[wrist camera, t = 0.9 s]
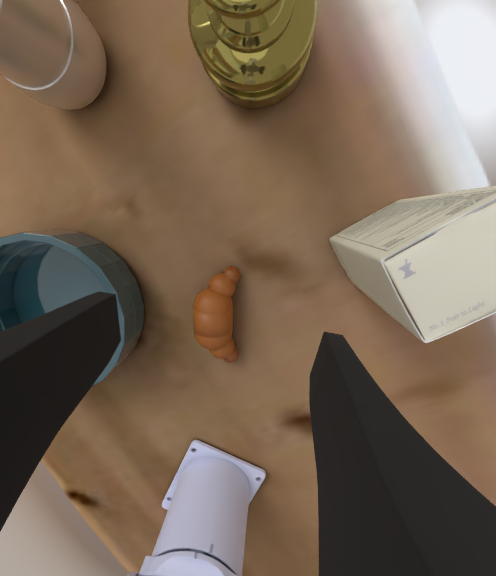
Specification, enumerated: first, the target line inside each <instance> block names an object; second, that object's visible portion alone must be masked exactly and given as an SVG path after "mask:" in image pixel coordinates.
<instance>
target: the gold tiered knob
mask: <svg viewBox="0 0 496 576" xmlns="http://www.w3.org/2000/svg"><path fill="white" fill-rule="evenodd" d="M317 14H318V1H317V0H189V1H188V24H189V31H190V36H191V40H192V43H193V46H194V48H195V50H196V53H197V55H198V57H199V58H200V60H201V62H202V64H203V66H204V68H205V70H206V72H207V74H208V75H209V77H210V78H211V80H212V82H213V83H214V85H215V86H216V88H217V89H218V90H219V92H220V93H221V94H222V95H223V96H225V97H226V98H227V99H228V100H230V101H231V102H233V103H235V104H237V105H240V106H243V107H248V108H262V107H267V106H270V105H273V104H275V103H277V102H279V101H280V100H282V99H283V98H285V97H286V96H287V95H288V94H289V93H290V92H291V91H292V90H293V89H294V88H295V86H296V85H297V84H298V82H299V80H300V79H301V77H302V75H303V73H304V70H305V68H306V64H307V61H308V57H309V54H310V51H311V47H312V42H313V36H314V32H315V28H316V23H317Z"/></svg>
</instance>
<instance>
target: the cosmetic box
mask: <svg viewBox="0 0 496 576" xmlns="http://www.w3.org/2000/svg"><path fill="white" fill-rule="evenodd" d="M329 241H330V243H331V245H332V247H333V249H334V251H335V253H336V255H337V257H338V259H339V261H340V263H341V265H342V267H343V269H344V271H345V272H346V274H347V276H348V277H349V279H350V281H351V283H352V284H354V285H355V286H356V287H357V288H358V289H359V290H361V291H362V292H363V293H364V294H365V295H367V296H368V297H369V298H370V299H371V300H372V301H374V302H375V303H376V304H377V305H378V306H380V307H381V308H382V309H383V310H384V311H385V312H387V313H388V314H389V315H390V316H392V317H393V318H394V319H395V320H396V321H398V322H399V323H400V324H401V325H402V326H404V327H405V328H406V329H407V330H409V331H410V332H411V333H412V334H413V335H415V336H416V337H417V338H418V339H420V340H421V341H422V342H424V343H429V342H431V341H434V340H436V339H439V338H441V337H443V336H446V335H448V334H451V333H453V332H455V331H457V330H459V329H462V328H464V327H466V326H469V325H471V324H473V323H475V322H477V321H480V320H482V319H484V318H486V317H488V316H491V315H492V314H494V313H496V186H490V187H484V188H477V189H470V190H463V191H456V192H449V193H442V194H435V195H428V196H422V197H415V198H408V199H401V200H398V201H396V202H394V203H392V204H390V205H388V206H386V207H384V208H382V209H380V210H379V211H377V212H375V213H373V214H371V215H369V216H367V217H366V218H364V219H362V220H360V221H359V222H357V223H355V224H353V225H351V226H350V227H348V228H346V229H344V230H343V231H341V232H339V233H337V234H336V235H334V236H332V237H331V238H329Z"/></svg>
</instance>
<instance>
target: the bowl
mask: <svg viewBox="0 0 496 576" xmlns="http://www.w3.org/2000/svg"><path fill="white" fill-rule="evenodd" d="M99 291H100V292H105V293H111V294H116V300H117V309H118V317H119V326H120V334H121V341H120V343H119V345H118V347H117V349H116V351H115V353H114V355H113V356H112V358H111V360H110V361H109V363H108V365H107V366H106V368H105V369H104V370H103V372H102V373H101V375H100V376H99V377H98V379H97V380H96V381H95V383H94V384H93V385H92V386H94V385H96V384H98V383H99V382H101V381H103V380H104V379H105V378H106V377H107V376H108V375H109V374H110V373H111V372H112V371H113V370H114V369H115V368H116V367H117V366H118V365H119V364H120V363H121V362H122V361H123V360H124V359H125V358H126V357H127V356H128V355H129V353H130V352H131V351H132V350H133V349H134V348H135V347H136V345H137V342H138V340H139V337H140V334H141V332H142V329H143V323H144V303H143V300H142V296H141V293H140V290H139V286H138V283H137V280H136V279H135V277H134V276H133V274H132V273H131V271H130V270H129V268H128V267H127V265H126V263H125V262H124V260H122V259H121V258H120V257H119V256H118V255H117V254H115V253H114V252H113V251H112V250H111V249H110V248H109V247H107V246H106V245H105V244H103V242H100V241H98V240H96V239H94V238H92V237H90V236H87V235H85V234H83V233H80V232H74V231H66V230H58V229H57V230H45V231H33V232H23V233H18V234H14V235H9V236H5V237H1V238H0V332H1V331H3V330H6V329H8V328H11V327H13V326H16V325H18V324H21V323H24V322H26V321H29V320H31V319H34V318H36V317H38V316H41V315H43V314H45V313H48V312H50V311H52V310H55V309H57V308H59V307H62V306H64V305H66V304H69V303H71V302H73V301H76V300H78V299H80V298H83V297H85V296H88V295H90V294H93V293H96V292H99Z"/></svg>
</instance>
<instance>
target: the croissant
mask: <svg viewBox="0 0 496 576" xmlns="http://www.w3.org/2000/svg"><path fill="white" fill-rule="evenodd" d="M240 276H241V275H240V271H239V270H238V269H237V268H236V267H233V266H230V267H227V268H225V269H224V271H223V273H220V274H217V275H215V276H213V277H212V278H211V280H210V282H209V286H208V288H207V289H205V290H203V291H202V292H200V293H199V294H198V295H197V297H196V299H195V301H194V307H193V309H194V335H195V338H196V340H197V342H198V343H199V344H200V345H201V346H203V347H204V348H207V349H209V351H210V353H211V354H212V355H213V356H214V357H216V358H219V359H223V360H224V361H226V362H229V363H231V362H234V361H235V360H236V359H237V358H238V355H239V353H238V349H237V348H236V347H235V346H234V341H233V339H232V337H231V336H232V332H233V302H232V299H231V296H232V295H233V294H234V292H235V288H236V286H235V284H236V283H237V282H238V281H239V280H240Z"/></svg>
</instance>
